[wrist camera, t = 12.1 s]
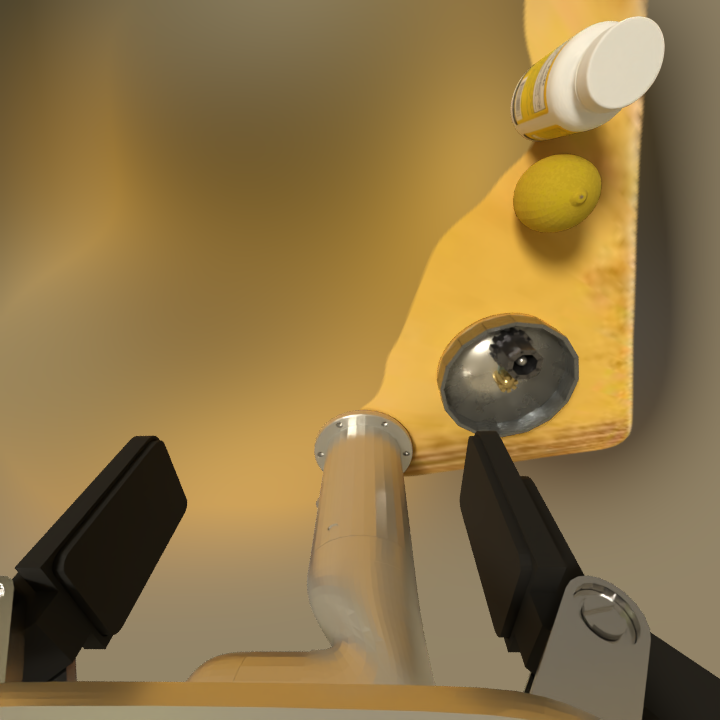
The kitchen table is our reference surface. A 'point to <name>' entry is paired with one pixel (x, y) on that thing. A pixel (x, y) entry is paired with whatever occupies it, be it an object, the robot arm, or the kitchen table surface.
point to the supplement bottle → (588, 79)
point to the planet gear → (516, 353)
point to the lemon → (557, 193)
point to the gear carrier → (505, 377)
